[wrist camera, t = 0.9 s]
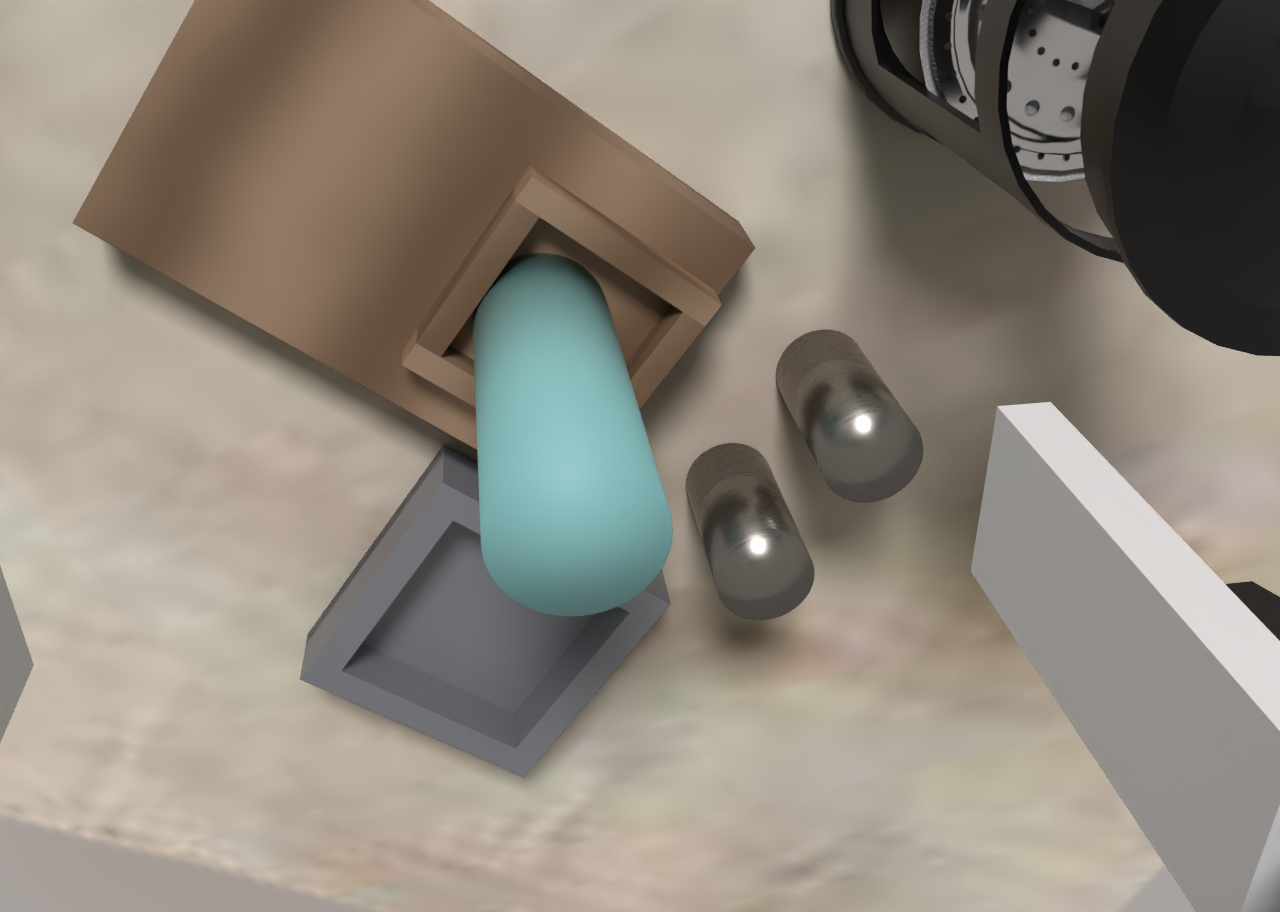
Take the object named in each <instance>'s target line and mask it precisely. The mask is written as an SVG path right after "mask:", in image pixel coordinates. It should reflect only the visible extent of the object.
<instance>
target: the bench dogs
mask: <svg viewBox="0 0 1280 912" xmlns="http://www.w3.org/2000/svg"><path fill="white" fill-rule="evenodd" d="M776 382H777V386H778V389H779V391H780V393H781V395H782V397H783V399H784V401H785V403H786V405H787V407H788V409H789V411H790V412H791V414H792V416H793V418H794V420H795V422H796V424H797V426H798V428H799V430H800V432H801V433H802V435H803V437H804V439H805V441H806V443H807V445H808V447H809V449H810V451H811V453H812V455H813V456H814V458H815V460H816V462H817V464H818V466H819V468H820V470H821V472H822V474H823V476H824V477H825V479H826V481H827V483H828V485H829V486H830V488H831V489H832V490H833V491H834V492H835V493H837V494H838V495H839V496H841V497H843V498H845V499H848V500H850V501H855V502H875V501H879V500H883V499H885V498H888V497H890V496H892V495H894V494H896V493H897V492H899V491H900V490H902V489H903V488H904V487H905V486H906V485H907V484H908V483H909V482H910V481H911V480H912V479H913V477H914V476H915V474H916V473H917V471H918V469H919V467H920V464H921V461H922V457H923V442H922V439H921V436H920V434H919V432H918V430H917V429H916V427H915V426H914V424H913V423H912V422H911V420H910V419H909V417H908V416H907V414H906V413H905V412H904V410H903V409H902V407H901V406H900V405H899V403H898V402H897V400H896V399H895V397H894V396H893V395H892V393H891V392H890V390H889V389H888V388H887V386H886V385H885V383H884V382H883V380H882V379H881V378H880V376H879V375H878V373H877V372H876V371H875V369H874V368H873V366H872V365H871V363H870V362H869V361H868V359H867V358H866V356H865V355H864V354H863V352H862V351H861V349H860V348H859V346H858V345H857V344H856V343H855V341H854V340H853V339H851V338H850V337H849V336H847V335H845V334H844V333H841V332H838V331H834V330H817V331H813V332H809V333H807V334H804V335H803V336H801V337H799V338H798V339H796V340H795V341H793V342H792V343H791V344H790V345H789V346H788V347H787V348H786V350H785V351H784V352H783V354H782V356H781V358H780V360H779V362H778V365H777V369H776ZM686 491H687V495H688V498H689V501H690V505H691V508H692V511H693V514H694V517H695V520H696V524H697V527H698V530H699V533H700V536H701V539H702V542H703V546H704V549H705V552H706V555H707V558H708V561H709V565H710V568H711V571H712V574H713V577H714V580H715V583H716V587H717V590H718V593H719V596H720V598H721V600H722V602H723V604H724V605H725V606H726V607H727V608H728V609H729V610H730V611H731V612H733V613H735V614H736V615H738V616H741V617H743V618H747V619H752V620H766V619H772V618H776V617H779V616H782V615H784V614H786V613H788V612H790V611H791V610H793V609H794V608H796V607H797V606H798V605H799V604H800V603H801V602H802V601H803V600H804V599H805V598H806V596H807V595H808V593H809V592H810V590H811V587H812V585H813V581H814V566H813V563H812V560H811V558H810V556H809V553H808V551H807V549H806V547H805V544H804V542H803V540H802V538H801V536H800V533H799V531H798V529H797V527H796V525H795V522H794V520H793V518H792V516H791V513H790V511H789V509H788V507H787V505H786V502H785V500H784V498H783V496H782V493H781V491H780V489H779V487H778V485H777V482H776V480H775V478H774V476H773V473H772V471H771V469H770V467H769V465H768V463H767V461H766V459H765V458H764V456H763V455H762V454H761V453H760V452H758V451H757V450H756V449H754V448H752V447H750V446H747V445H744V444H738V443H728V444H722V445H718V446H715V447H713V448H711V449H709V450H707V451H706V452H704V453H703V454H701V455H700V456H699V457H698V458H697V459H696V460H695V461H694V463H693V464H692V466H691V467H690V469H689V472H688V474H687V478H686Z"/></svg>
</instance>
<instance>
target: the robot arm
mask: <svg viewBox="0 0 1280 912" xmlns="http://www.w3.org/2000/svg"><path fill="white" fill-rule="evenodd" d="M971 573H972V574H973V576H974V577H975V579H976V580H977V582H978V583H979V585H980V586H981V588H982V589H983V591H984V592H985V594H986V595H987V597H988V598H989V600H990V602H991V603H992V605H993V606H994V608H995V609H996V611H997V612H998V614H999V615H1000V617H1001V618H1002V620H1003V621H1004V623H1005V624H1006V626H1007V627H1008V629H1009V630H1010V632H1011V633H1012V635H1013V636H1014V638H1015V639H1016V641H1017V642H1018V644H1019V645H1020V647H1021V648H1022V650H1023V651H1024V653H1025V654H1026V656H1027V657H1028V659H1029V660H1030V662H1031V663H1032V665H1033V666H1034V668H1035V669H1036V671H1037V672H1038V674H1039V675H1040V677H1041V678H1042V680H1043V681H1044V683H1045V685H1046V686H1047V688H1048V689H1049V691H1050V692H1051V694H1052V695H1053V697H1054V698H1055V700H1056V701H1057V703H1058V704H1059V706H1060V707H1061V709H1062V710H1063V712H1064V713H1065V715H1066V716H1067V718H1068V719H1069V721H1070V722H1071V724H1072V725H1073V727H1074V728H1075V730H1076V731H1077V733H1078V734H1079V736H1080V737H1081V739H1082V740H1083V742H1084V743H1085V745H1086V746H1087V748H1088V749H1089V751H1090V752H1091V754H1092V755H1093V757H1094V758H1095V760H1096V761H1097V763H1098V764H1099V766H1100V767H1101V769H1102V771H1103V772H1104V774H1105V775H1106V777H1107V778H1108V780H1109V781H1110V783H1111V784H1112V786H1113V787H1114V789H1115V790H1116V792H1117V793H1118V795H1119V796H1120V798H1121V799H1122V801H1123V802H1124V804H1125V805H1126V807H1127V808H1128V810H1129V811H1130V813H1131V814H1132V816H1133V817H1134V819H1135V820H1136V822H1137V823H1138V825H1139V826H1140V828H1141V829H1142V831H1143V832H1144V834H1145V835H1146V837H1147V838H1148V840H1149V841H1150V843H1151V844H1152V846H1153V847H1154V849H1155V850H1156V852H1157V854H1158V855H1159V857H1160V858H1161V860H1162V861H1163V863H1164V864H1165V866H1166V867H1167V869H1168V870H1169V872H1170V873H1171V875H1172V876H1173V877H1174V879H1175V881H1176V882H1177V884H1178V885H1179V886H1180V888H1181V890H1182V891H1183V893H1184V894H1185V896H1186V897H1187V899H1188V900H1189V902H1190V903H1191V905H1192V906H1193V908H1194V909H1195V911H1196V912H1280V597H1279V596H1277V595H1275V594H1273V593H1272V592H1270V591H1268V590H1266V589H1265V588H1263V587H1261V586H1259V585H1258V584H1256V583H1254V582H1253V581H1250V582H1241V583H1231V584H1225V583H1224V582H1223V581H1222V580H1221V579H1220V578H1219V577H1218V576H1217V575H1216V574H1215V573H1214V572H1213V571H1212V570H1211V569H1210V568H1209V567H1208V566H1207V565H1206V564H1205V563H1204V562H1203V561H1202V559H1201V558H1200V557H1199V556H1198V555H1197V554H1196V553H1195V552H1194V551H1193V550H1192V549H1191V548H1190V547H1189V546H1188V545H1187V544H1186V543H1185V542H1184V541H1183V540H1182V539H1181V538H1180V537H1179V535H1178V534H1177V533H1176V532H1175V531H1174V530H1173V529H1172V528H1171V527H1170V526H1169V525H1168V524H1167V523H1166V522H1165V521H1164V520H1163V519H1162V518H1161V517H1160V516H1159V515H1158V514H1157V512H1156V511H1155V510H1154V509H1153V508H1152V507H1151V506H1150V505H1149V504H1148V503H1147V502H1146V501H1145V500H1144V499H1143V498H1142V497H1141V496H1140V495H1139V494H1138V493H1137V492H1136V491H1135V490H1134V488H1133V487H1132V486H1131V485H1130V484H1129V483H1128V482H1127V481H1126V480H1125V479H1124V478H1123V477H1122V476H1121V475H1120V474H1119V473H1118V472H1117V471H1116V470H1115V469H1114V468H1113V467H1112V466H1111V464H1110V463H1109V462H1108V461H1107V460H1106V459H1105V458H1104V457H1103V456H1102V455H1101V454H1100V453H1099V452H1098V451H1097V450H1096V449H1095V448H1094V447H1093V446H1092V445H1091V444H1090V443H1089V442H1088V440H1087V439H1086V438H1085V437H1084V436H1083V435H1082V434H1081V433H1080V432H1079V431H1078V430H1077V429H1076V428H1075V427H1074V426H1073V425H1072V424H1071V423H1070V422H1069V421H1068V420H1067V419H1066V418H1065V416H1064V415H1063V414H1062V413H1061V412H1060V411H1059V410H1058V409H1057V408H1056V407H1055V406H1054V405H1053V404H1052V403H1051V402H1043V403H1030V404H1018V405H1006V406H997V410H996V417H995V423H994V429H993V435H992V442H991V448H990V454H989V460H988V466H987V473H986V479H985V485H984V491H983V498H982V504H981V510H980V516H979V523H978V529H977V535H976V541H975V547H974V554H973V560H972V566H971ZM32 668H33V662H32V659H31V656H30V653H29V650H28V647H27V644H26V641H25V638H24V635H23V632H22V629H21V626H20V623H19V620H18V617H17V614H16V611H15V608H14V605H13V602H12V599H11V597H10V594H9V591H8V588H7V585H6V582H5V579H4V576H3V573H2V570H1V567H0V742H1V740H2V737H3V735H4V733H5V730H6V728H7V726H8V723H9V721H10V719H11V716H12V714H13V712H14V709H15V707H16V705H17V702H18V700H19V698H20V695H21V693H22V691H23V688H24V686H25V684H26V682H27V679H28V677H29V675H30V672H31V670H32Z"/></svg>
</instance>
